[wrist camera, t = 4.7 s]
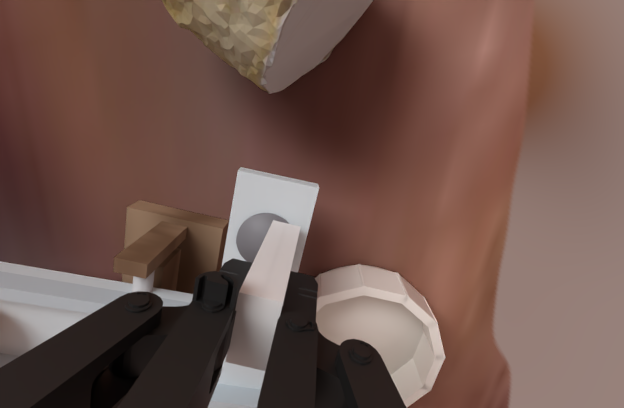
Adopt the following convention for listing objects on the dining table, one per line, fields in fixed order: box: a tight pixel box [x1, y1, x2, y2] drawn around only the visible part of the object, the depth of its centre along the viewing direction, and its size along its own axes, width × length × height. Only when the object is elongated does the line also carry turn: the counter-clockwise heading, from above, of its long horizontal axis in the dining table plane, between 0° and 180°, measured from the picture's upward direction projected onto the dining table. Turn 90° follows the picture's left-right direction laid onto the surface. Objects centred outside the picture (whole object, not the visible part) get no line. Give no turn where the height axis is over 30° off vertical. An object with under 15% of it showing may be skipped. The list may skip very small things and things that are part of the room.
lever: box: [0, 167, 319, 408], centre depth 17 cm, size 20×15×3 cm
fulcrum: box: [113, 200, 229, 294], centre depth 21 cm, size 6×12×6 cm, turn 167°
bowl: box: [315, 264, 446, 408], centre depth 23 cm, size 10×10×3 cm
